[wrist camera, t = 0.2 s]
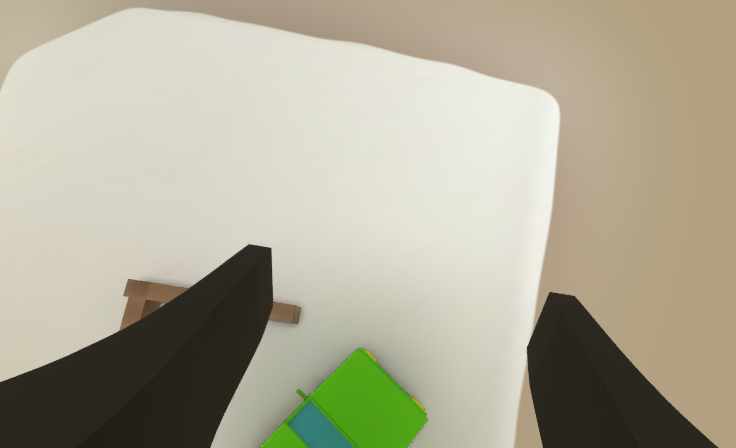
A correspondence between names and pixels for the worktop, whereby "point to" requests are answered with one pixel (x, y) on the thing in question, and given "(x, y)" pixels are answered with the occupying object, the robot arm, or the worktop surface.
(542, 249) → the worktop surface
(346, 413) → the toy car
